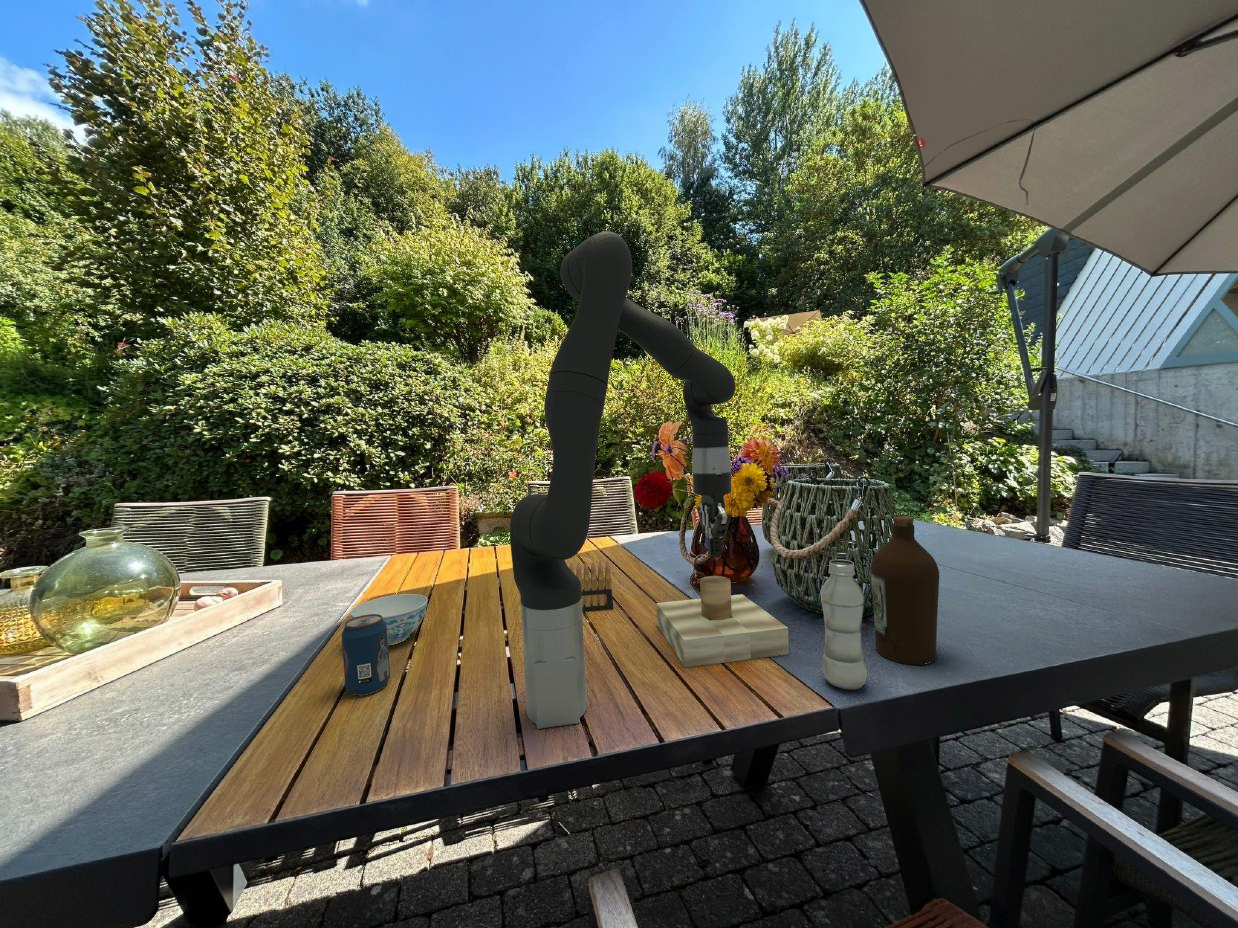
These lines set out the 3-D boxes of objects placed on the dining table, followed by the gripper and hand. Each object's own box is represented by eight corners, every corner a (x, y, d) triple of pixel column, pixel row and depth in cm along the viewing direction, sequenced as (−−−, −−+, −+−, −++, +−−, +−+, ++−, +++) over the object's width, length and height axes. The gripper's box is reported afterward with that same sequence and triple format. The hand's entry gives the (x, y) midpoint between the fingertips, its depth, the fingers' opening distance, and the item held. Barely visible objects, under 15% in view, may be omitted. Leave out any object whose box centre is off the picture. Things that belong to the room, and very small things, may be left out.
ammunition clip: (612, 606, 118) (610, 559, 117) (613, 609, 116) (611, 560, 116) (569, 610, 117) (567, 561, 116) (569, 613, 115) (567, 563, 115)
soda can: (349, 682, 85) (344, 616, 84) (392, 674, 87) (387, 610, 87) (342, 702, 79) (336, 630, 78) (388, 692, 81) (383, 623, 80)
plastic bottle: (842, 698, 73) (839, 569, 72) (813, 677, 80) (810, 559, 79) (877, 691, 75) (874, 565, 74) (845, 671, 81) (843, 555, 80)
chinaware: (429, 646, 99) (427, 609, 99) (347, 661, 94) (344, 623, 93) (429, 622, 113) (427, 590, 113) (358, 634, 108) (355, 600, 107)
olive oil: (929, 643, 90) (927, 512, 89) (949, 670, 80) (948, 522, 79) (867, 639, 94) (864, 512, 92) (878, 663, 83) (876, 522, 82)
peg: (737, 642, 94) (735, 583, 94) (708, 646, 93) (706, 585, 93) (725, 631, 100) (723, 574, 100) (698, 634, 99) (696, 577, 99)
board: (788, 654, 89) (788, 627, 88) (685, 667, 85) (683, 639, 85) (743, 615, 108) (742, 594, 108) (657, 625, 105) (656, 603, 105)
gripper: (683, 469, 101) (686, 550, 102) (705, 473, 88) (708, 566, 89) (717, 467, 102) (719, 547, 103) (743, 471, 89) (746, 562, 90)
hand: (714, 556), depth 96 cm, fingers closed
